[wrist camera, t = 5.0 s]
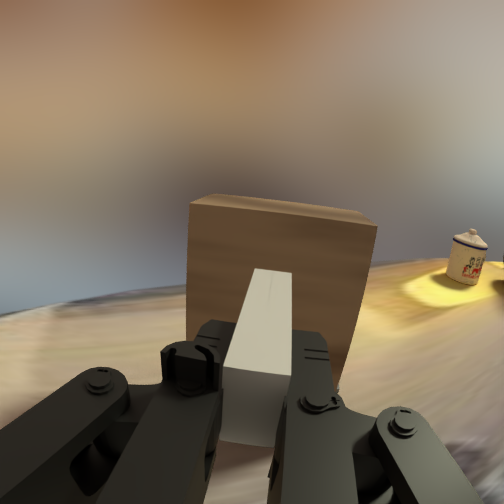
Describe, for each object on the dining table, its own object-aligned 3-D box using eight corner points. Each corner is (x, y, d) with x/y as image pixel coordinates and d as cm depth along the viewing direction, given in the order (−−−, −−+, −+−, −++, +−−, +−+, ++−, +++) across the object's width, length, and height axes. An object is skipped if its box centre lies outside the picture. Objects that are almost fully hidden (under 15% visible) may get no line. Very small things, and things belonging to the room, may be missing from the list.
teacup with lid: (462, 286, 55) (475, 233, 51) (437, 271, 63) (448, 222, 60) (490, 284, 57) (503, 237, 54) (467, 271, 66) (477, 227, 62)
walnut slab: (319, 436, 20) (377, 226, 15) (188, 418, 21) (189, 203, 16) (316, 395, 25) (358, 211, 20) (203, 379, 26) (212, 193, 21)
